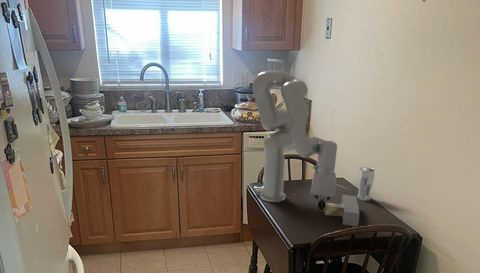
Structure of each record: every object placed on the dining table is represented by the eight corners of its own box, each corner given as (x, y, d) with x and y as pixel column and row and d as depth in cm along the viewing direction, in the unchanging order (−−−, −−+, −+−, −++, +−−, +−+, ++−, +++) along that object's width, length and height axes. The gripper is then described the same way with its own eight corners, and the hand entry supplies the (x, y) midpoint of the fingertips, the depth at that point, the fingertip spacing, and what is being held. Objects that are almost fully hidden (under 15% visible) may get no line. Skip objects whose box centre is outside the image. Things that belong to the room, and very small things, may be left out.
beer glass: (355, 200, 179) (359, 170, 176) (356, 194, 185) (360, 166, 182) (370, 202, 177) (374, 172, 173) (371, 197, 183) (375, 168, 179)
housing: (342, 224, 153) (344, 211, 152) (341, 206, 171) (342, 194, 170) (357, 226, 152) (359, 213, 151) (354, 207, 170) (356, 196, 169)
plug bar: (325, 214, 162) (325, 206, 161) (324, 211, 166) (325, 202, 165) (355, 217, 160) (356, 209, 159) (354, 213, 164) (355, 205, 163)
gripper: (307, 170, 158) (303, 210, 162) (343, 174, 154) (338, 215, 159) (308, 164, 165) (304, 203, 169) (343, 169, 161) (338, 208, 166)
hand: (321, 208), depth 164 cm, fingers closed
